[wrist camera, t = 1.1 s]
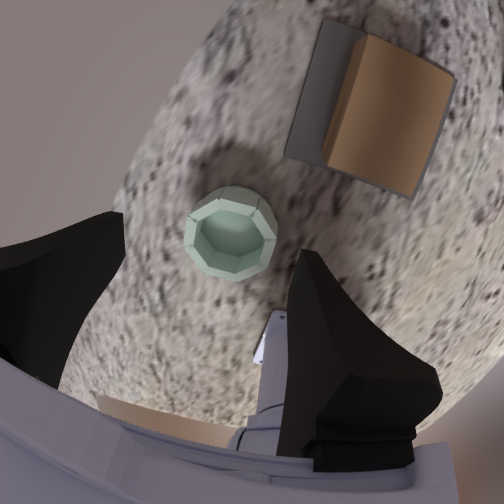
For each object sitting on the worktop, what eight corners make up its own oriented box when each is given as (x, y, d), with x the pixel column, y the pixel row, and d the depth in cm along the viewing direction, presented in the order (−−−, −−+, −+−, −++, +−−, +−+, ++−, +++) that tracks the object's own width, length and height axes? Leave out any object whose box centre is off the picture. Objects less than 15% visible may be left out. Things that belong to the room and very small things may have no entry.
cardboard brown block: (429, 76, 14) (454, 77, 11) (393, 178, 19) (410, 197, 16) (354, 42, 14) (369, 33, 11) (320, 152, 18) (327, 165, 15)
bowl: (285, 197, 21) (285, 215, 18) (263, 265, 24) (260, 288, 21) (203, 176, 21) (191, 190, 18) (191, 245, 24) (180, 266, 21)
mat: (454, 79, 14) (457, 79, 14) (411, 199, 20) (413, 201, 19) (323, 19, 14) (324, 17, 13) (283, 154, 19) (283, 155, 19)
